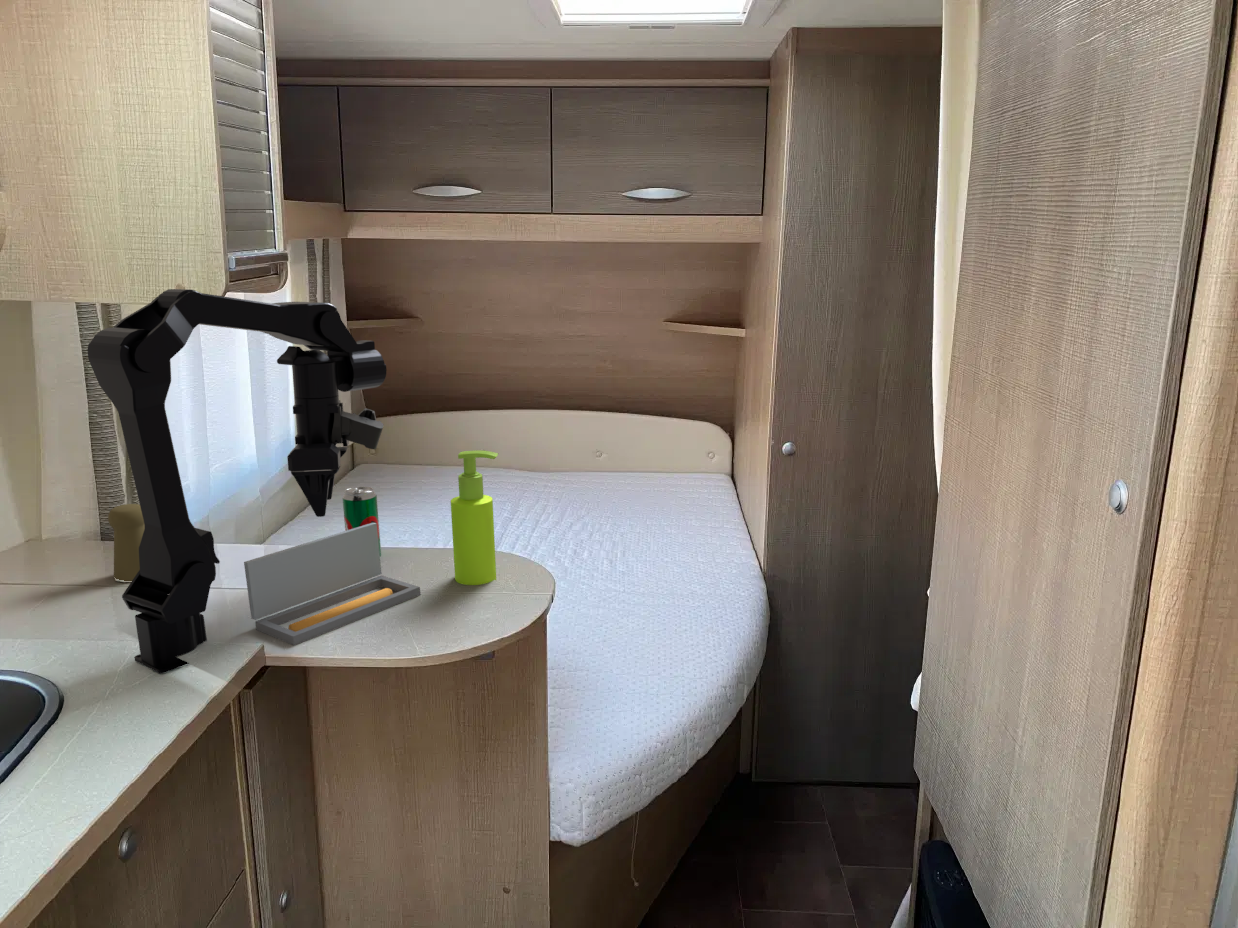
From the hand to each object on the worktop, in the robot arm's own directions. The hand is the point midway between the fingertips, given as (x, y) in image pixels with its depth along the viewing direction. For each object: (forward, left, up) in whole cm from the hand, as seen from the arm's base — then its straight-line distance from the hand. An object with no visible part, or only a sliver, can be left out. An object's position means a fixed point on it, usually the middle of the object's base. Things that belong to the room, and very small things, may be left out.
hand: (324, 507), depth 129 cm
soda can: (+11, +6, -13) cm, 18 cm away
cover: (-5, -5, -6) cm, 10 cm away
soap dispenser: (+14, -15, -13) cm, 25 cm away
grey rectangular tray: (-5, -9, -13) cm, 17 cm away
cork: (-12, +31, -13) cm, 36 cm away
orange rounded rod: (-5, -9, -12) cm, 16 cm away
